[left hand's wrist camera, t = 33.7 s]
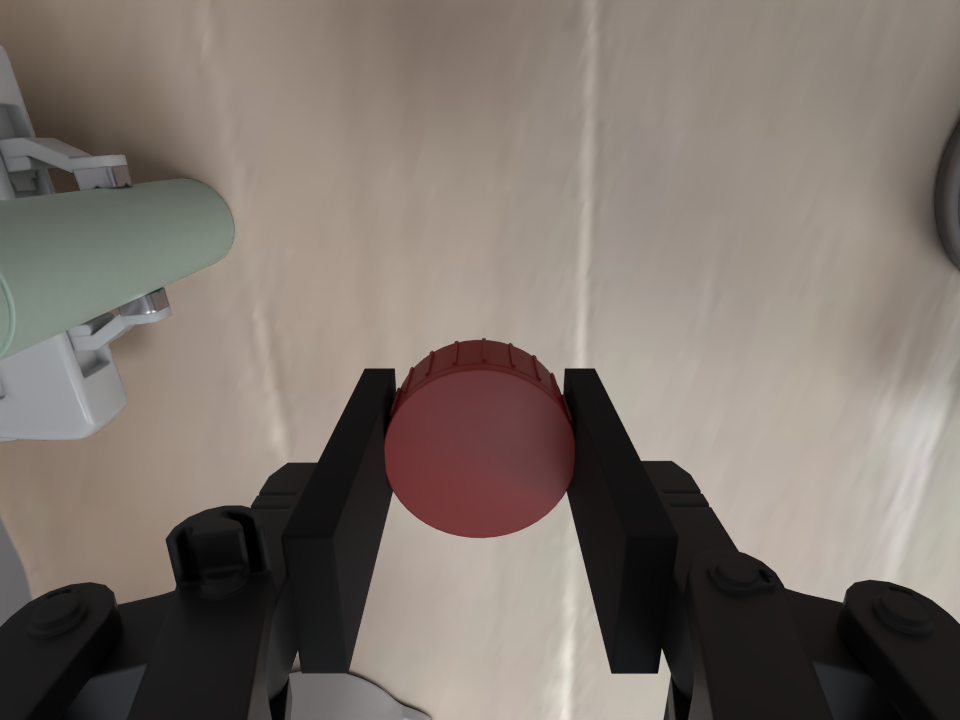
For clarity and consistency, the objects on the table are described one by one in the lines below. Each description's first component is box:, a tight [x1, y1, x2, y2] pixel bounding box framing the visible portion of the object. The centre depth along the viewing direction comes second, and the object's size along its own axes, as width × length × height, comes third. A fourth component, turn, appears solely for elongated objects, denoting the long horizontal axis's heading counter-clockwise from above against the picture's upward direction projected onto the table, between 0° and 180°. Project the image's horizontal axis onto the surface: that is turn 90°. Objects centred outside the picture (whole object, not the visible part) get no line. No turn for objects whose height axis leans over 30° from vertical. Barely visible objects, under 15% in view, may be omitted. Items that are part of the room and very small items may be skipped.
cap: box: [384, 338, 576, 538], centre depth 14 cm, size 4×4×2 cm
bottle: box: [0, 178, 234, 361], centre depth 24 cm, size 5×5×23 cm
